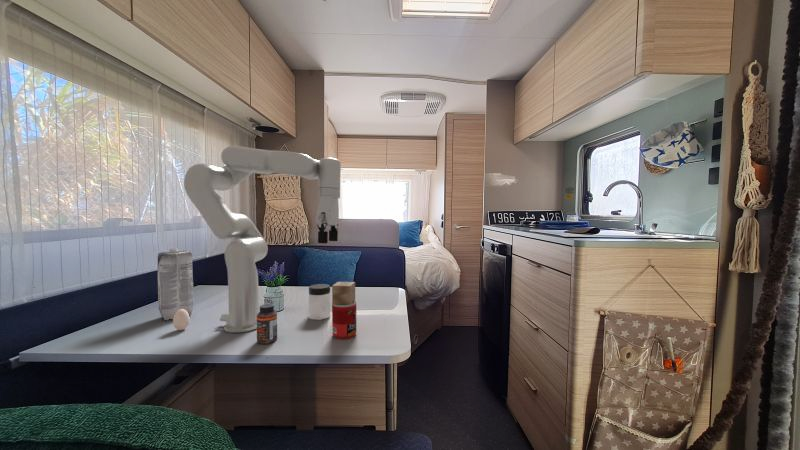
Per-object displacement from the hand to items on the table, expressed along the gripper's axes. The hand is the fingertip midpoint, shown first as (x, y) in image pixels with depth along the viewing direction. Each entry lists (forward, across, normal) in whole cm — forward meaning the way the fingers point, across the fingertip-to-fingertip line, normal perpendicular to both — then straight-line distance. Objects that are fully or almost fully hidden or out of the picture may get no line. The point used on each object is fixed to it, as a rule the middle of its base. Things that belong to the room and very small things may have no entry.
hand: (328, 242), depth 106 cm
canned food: (+30, +7, +9) cm, 32 cm away
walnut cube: (+19, +7, +9) cm, 22 cm away
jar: (+31, -10, -7) cm, 33 cm away
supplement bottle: (+31, +14, -14) cm, 37 cm away
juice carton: (+32, -3, -63) cm, 71 cm away
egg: (+32, +10, -49) cm, 59 cm away
